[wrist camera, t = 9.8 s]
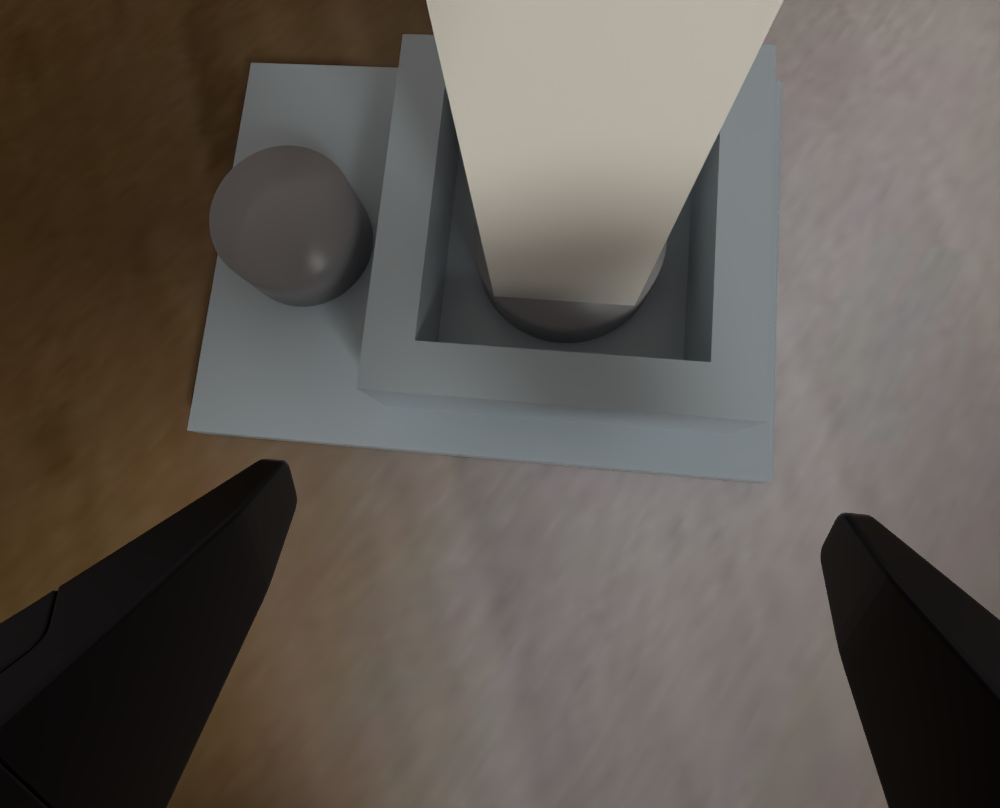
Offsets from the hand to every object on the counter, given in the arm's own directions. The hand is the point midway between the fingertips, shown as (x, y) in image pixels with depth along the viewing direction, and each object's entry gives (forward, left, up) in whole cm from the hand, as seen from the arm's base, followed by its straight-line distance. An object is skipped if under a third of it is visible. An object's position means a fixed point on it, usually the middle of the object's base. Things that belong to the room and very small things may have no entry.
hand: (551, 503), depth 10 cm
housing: (+3, +8, -9) cm, 12 cm away
